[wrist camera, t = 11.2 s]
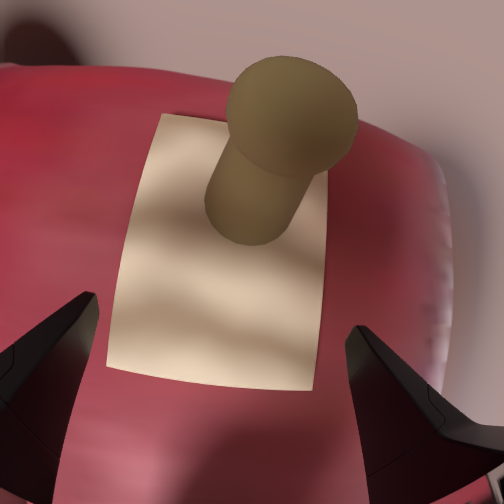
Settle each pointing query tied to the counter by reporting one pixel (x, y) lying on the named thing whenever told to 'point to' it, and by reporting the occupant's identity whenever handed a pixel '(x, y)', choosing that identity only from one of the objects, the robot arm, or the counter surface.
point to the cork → (277, 145)
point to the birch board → (214, 277)
